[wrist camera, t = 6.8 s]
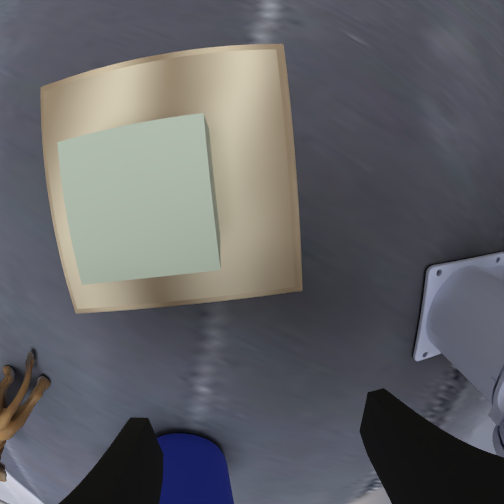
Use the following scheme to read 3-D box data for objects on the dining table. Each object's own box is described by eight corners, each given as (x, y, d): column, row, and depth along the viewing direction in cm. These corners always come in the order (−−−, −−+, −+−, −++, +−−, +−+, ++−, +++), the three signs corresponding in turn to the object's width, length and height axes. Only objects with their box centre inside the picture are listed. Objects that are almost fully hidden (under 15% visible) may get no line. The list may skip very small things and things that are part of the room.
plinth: (276, 55, 15) (285, 40, 13) (294, 277, 19) (304, 294, 16) (57, 92, 14) (36, 85, 12) (87, 299, 18) (72, 317, 15)
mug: (86, 430, 21) (55, 520, 12) (214, 413, 21) (218, 528, 12) (131, 480, 24) (118, 559, 14) (244, 467, 24) (256, 558, 14)
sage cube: (209, 129, 14) (203, 113, 9) (220, 234, 15) (220, 269, 10) (106, 145, 13) (57, 142, 8) (120, 246, 15) (81, 284, 10)
